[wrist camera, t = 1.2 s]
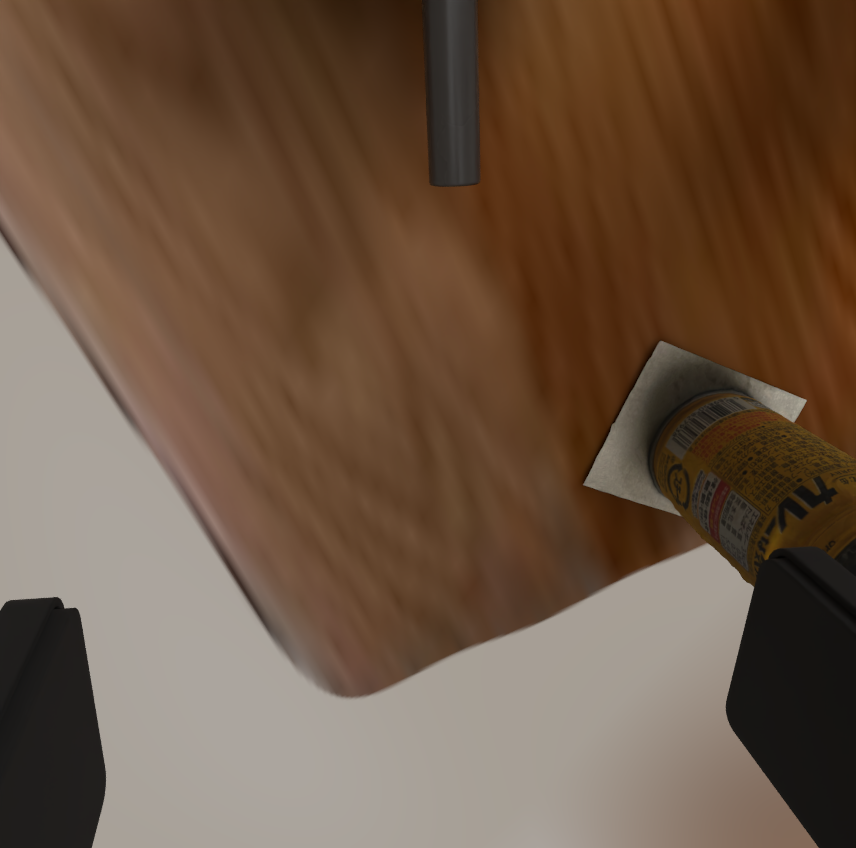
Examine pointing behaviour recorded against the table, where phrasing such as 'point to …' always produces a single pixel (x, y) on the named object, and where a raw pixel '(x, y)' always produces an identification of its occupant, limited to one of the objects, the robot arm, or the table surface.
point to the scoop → (452, 91)
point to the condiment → (729, 462)
